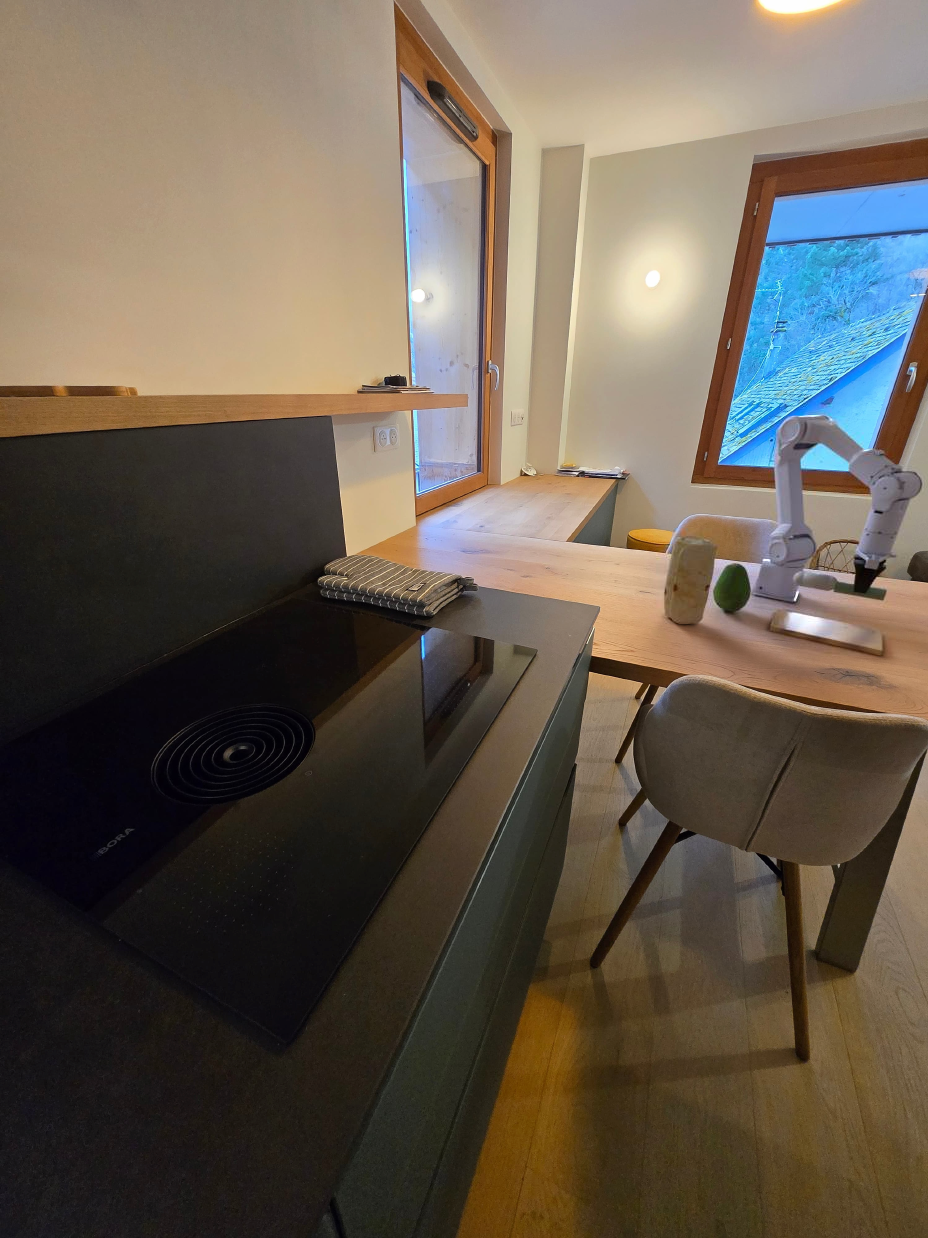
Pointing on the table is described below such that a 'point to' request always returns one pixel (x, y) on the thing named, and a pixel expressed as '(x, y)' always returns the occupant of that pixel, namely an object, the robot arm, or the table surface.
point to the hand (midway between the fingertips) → (859, 590)
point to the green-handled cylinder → (834, 585)
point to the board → (828, 631)
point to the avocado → (732, 588)
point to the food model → (689, 579)
